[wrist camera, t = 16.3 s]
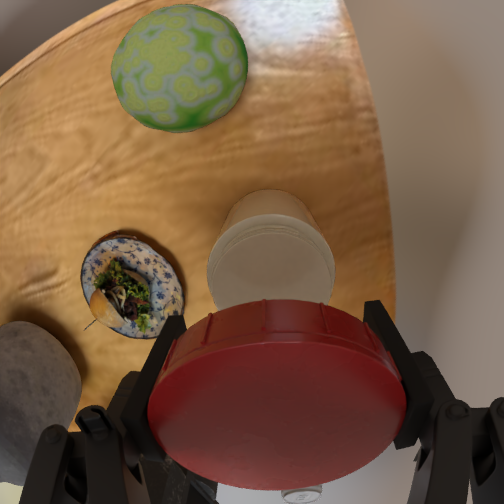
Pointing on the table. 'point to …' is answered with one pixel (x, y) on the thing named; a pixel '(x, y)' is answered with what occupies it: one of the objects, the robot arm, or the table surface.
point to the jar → (270, 253)
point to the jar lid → (277, 396)
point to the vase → (32, 393)
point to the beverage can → (302, 495)
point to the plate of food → (130, 286)
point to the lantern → (176, 483)
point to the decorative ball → (180, 68)
